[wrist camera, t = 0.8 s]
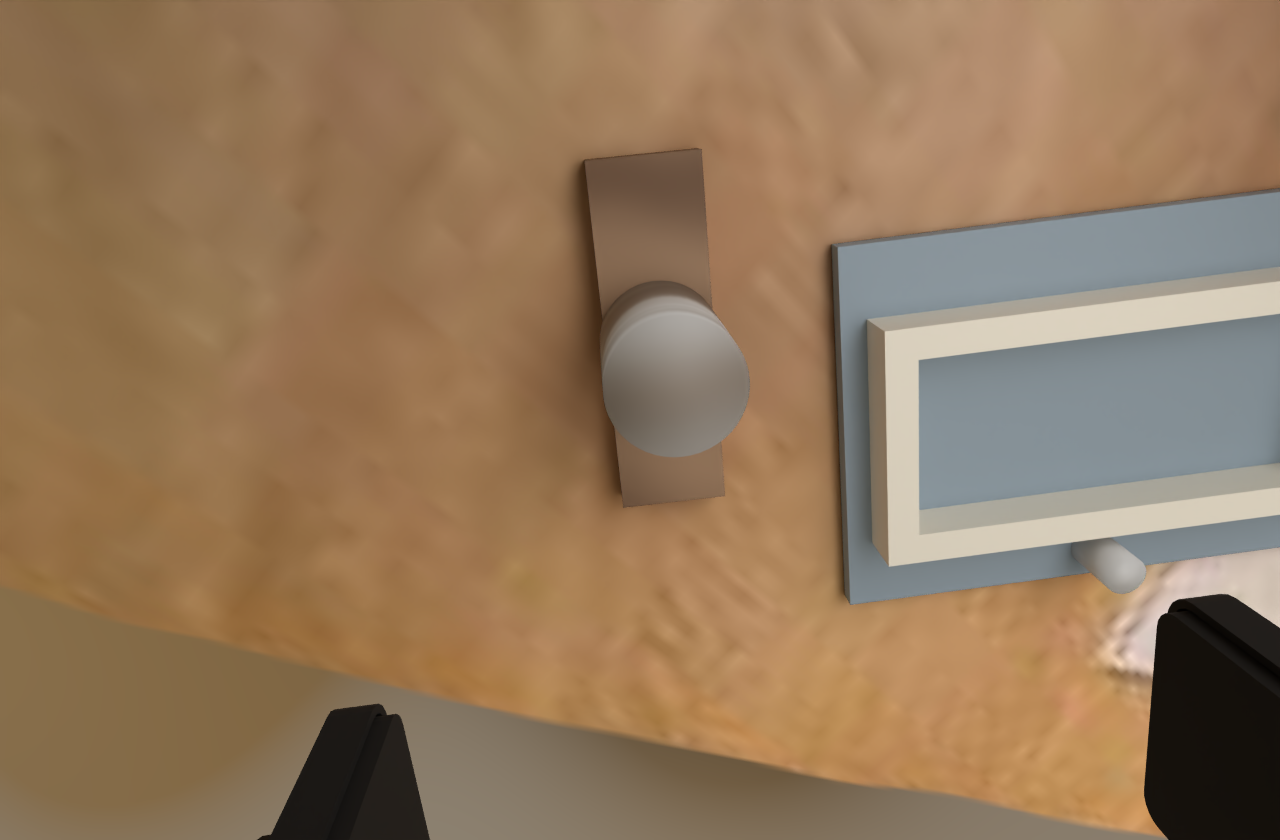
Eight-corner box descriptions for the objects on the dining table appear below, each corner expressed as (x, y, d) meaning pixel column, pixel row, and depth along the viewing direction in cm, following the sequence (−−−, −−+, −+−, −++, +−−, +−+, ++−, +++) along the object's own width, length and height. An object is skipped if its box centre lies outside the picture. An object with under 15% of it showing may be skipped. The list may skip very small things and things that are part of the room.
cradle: (831, 244, 31) (858, 257, 28) (1367, 177, 32) (1452, 183, 29) (844, 594, 36) (869, 638, 33) (1307, 533, 37) (1374, 570, 34)
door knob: (579, 159, 30) (577, 170, 23) (701, 147, 30) (737, 153, 23) (617, 492, 34) (625, 587, 27) (723, 480, 34) (759, 571, 27)
